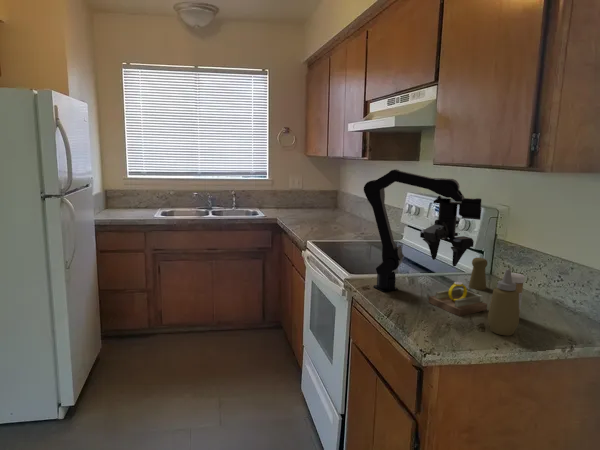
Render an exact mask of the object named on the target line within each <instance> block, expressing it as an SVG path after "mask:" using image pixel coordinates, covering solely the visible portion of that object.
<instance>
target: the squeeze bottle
mask: <svg viewBox="0 0 600 450" xmlns="http://www.w3.org/2000/svg"><path fill="white" fill-rule="evenodd" d="M511 273H512V270H511V269H508V268H506V269H505V270H504V274H503V277H502V279H501V280H498V281H497V286H496V287H495V288H493V290H492V295H491V299H490V300H491V301H490V304H489V309H488V314H487V321H488V325H489V330H490V331H491V332H492V333H494V334H497V335H501V336H506V337H507V336H512V335H514V333H515V331H516V330H517V327H518V326H519V324H520V318H519V316H520V314H519V293H518V292H517V291H516V283H514V282H512V276H511Z"/></svg>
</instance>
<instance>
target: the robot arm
mask: <svg viewBox="0 0 600 450" xmlns="http://www.w3.org/2000/svg"><path fill="white" fill-rule="evenodd" d="M395 182H396V183H400V184H404V185H409V186H412V187H413V186H414V187H416V188H417V187H418V188H422V189H426V190H429V191H431V192H433V193H435V194H437V195H438V197H436V199H435V200H433V201H432V202H433V203H434V204H438V205H439V207H438V217H437V219H435V221H434V224H433V225H431V226H428V227H426V228H423V229H421V231H420V233H419V234H420V235H419V238H422V241H424V242H425V243H426V244H427V245H428V249H429V253H430V256H431V259H432V260H433V261H435V260H436V259H437V257H438V256H437V255H438V252H439V248H440V242H441V241H446V242H449V243H451V245H452V246H450V249H451V250H452V267H456V266H458V263H459V261H460V260H461V259H462V257H463V255H464V254H465V253H466V251H467V250H469V249H470V248H473V247H474V244H475V243H474V242H475V241H474V239H473V238H472V237H468V236H464V235H463V236H459V235H458V234H459V232H456V229H457V225H459V224H460V221H459V220H457V218H458V217H457V215H459V216H460V217H461V219H466V220H476V221H477V220H481V219H482V198H469V197H468V198H467V197H465V196H464V194H463V193H462V191H461V190H460V184H459V182H458V180H456V179H454V178H443V177H442V178H439V177H437V178H436V177H429V176H424V175H421V174H415V173H411V172H406V171H402V170H399V169H397V168H396V169H391V170H390V171H389V172H386V173H385V174H384V175H383V176H380V177H379V178H377V179H373V180H369V181H367V182H366V183H365V184H364V186H363V193H364V195H365V197H366V199H367V201H368V203H369V204H370V206H371V207H372V212H373V214H374V215H373V216H374V218H375V223H376V226H377V231H378V234H379V239H380V242H381V246H382V248H381V249H382V250H381V263H380V264H379V265H378V266H377V267H376V268H375V271H376V274H377V275H376V284H373V288H375V289H377V290H378V291H381V292H383V293H385V292H392V291H398V290H399V288H398V287H397V286H396V280H397V278H396V273H395V271H396V270H397V269H398V268H399V267H400V266H401V264H402V263H403V259H404V257H405V255H404V254H403V252H402V245H398V246H397V244H396V243H395V239H394V237H393V231H392V228H391V225H390V221H389V216H388V211H387V209H386V205H385V202H386V201H385V200H386V194H385V193H386V192H385V189H386V188H388V187H389V186H391V185H393V184H394V183H395ZM452 200H453V201H452Z"/></svg>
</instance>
